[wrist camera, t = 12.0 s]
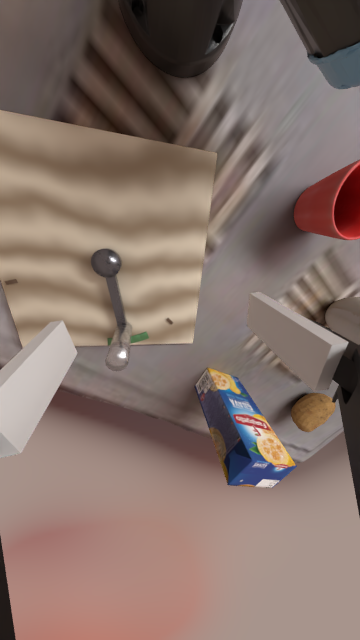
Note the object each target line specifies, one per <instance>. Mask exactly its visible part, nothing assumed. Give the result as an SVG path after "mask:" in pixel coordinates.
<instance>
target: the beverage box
mask: <svg viewBox="0 0 360 640" xmlns="http://www.w3.org/2000/svg"><path fill="white" fill-rule="evenodd" d="M195 389H196V392H197V395H198V398H199V400H200V403H201V406H202V409H203V412H204V415H205V418H206V421H207V424H208V427H209V430H210V433H211V436H212V439H213V442H214V445H215V448H216V451H217V454H218V457H219V459H220V463H221V465H222V468H223V471H224V474H225V477H226V480H227V483H228V485H234V486H249V487H265V488H273V487H274V486H275V485H276V484H277V483H278V482H280V481H281V480H282V479H283V478H284V477H285V476H286V475H288V474H289V473H290V472H291V471H292V470H293V469H294V468H295V467H296V465H295V463H294V462H293V460H292V459H291V457H290V456H289V454H288V453H287V451H286V450H285V448H284V447H283V445H282V444H281V442H280V441H279V439H278V438H277V436H276V435H275V433H274V432H273V430H272V429H271V427H270V426H269V424H268V423H267V421H266V420H265V418H264V417H263V415H262V413H261V412H260V410H259V409H258V407H257V406H256V404H255V403H254V401H253V400H252V398H251V397H250V395H249V394H248V392H247V391H246V389H245V388H244V386H243V385H242V383H241V382H240V380H239V379H238V378H236V377H233V376H231V375H228V374H225V373H222V372H219V371H216V370H213V369H210V368H207V369H206V371H205V372H204V373H203V375H202V376H201V378H200V379H199V381H198V382H197V383H196V385H195Z"/></svg>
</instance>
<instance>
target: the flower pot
mask: <svg viewBox="0 0 360 640" xmlns="http://www.w3.org/2000/svg"><path fill="white" fill-rule="evenodd" d="M294 221H295V223H296V225H297V227H298V228H299V229H301V230H303V231H307V232H312V233H316V234H320V235H324V236H329V237H333V238H338V239H343V240H355V239H359V238H360V160H358V161H356V162H354V163H352V164H350V165H348V166H346V167H344V168H342V169H341V170H339V171H337V172H335V173H333V174H331V175H330V176H328V177H326V178H324V179H322V180H321V181H319V182H317V183H316V184H314V185H312V186H310V187H309V188H307V189H306V190H305V191H304V192H303V193H302V194H301V196H300V197H299V199H298V201H297V203H296V205H295V209H294Z"/></svg>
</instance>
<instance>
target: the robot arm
mask: <svg viewBox="0 0 360 640" xmlns="http://www.w3.org/2000/svg"><path fill="white" fill-rule="evenodd" d="M242 1H243V0H118V2H119V5H120V8H121V11H122V14H123V17H124V20H125V22H126V24H127V27H128V29H129V31H130V33H131V35H132V36H133V38H134V40H135V42H136V43H137V45H138V46H139V48H140V49H141V51H142V52H143V53H144V54H145V56H146V57H147V58H148V59H149V60H150V61H151V62H152V63H153V64H154V65H156V66H157V67H158V68H160V69H161V70H163V71H164V72H166V73H168V74H171V75H174V76H178V77H191V76H195V75H198V74H200V73H202V72H204V71H205V70H207V69H208V68H209V67H210V66H212V65H213V64H214V62H215V61H216V60H217V59H218V58H219V56H220V55H221V53H222V52H223V50H224V48H225V46H226V44H227V42H228V40H229V38H230V35H231V33H232V31H233V28H234V26H235V23H236V21H237V18H238V15H239V12H240V9H241V5H242ZM280 2H281V3H282V5H283V7H284V9H285V11H286V13H287V14H288V16H289V18H290V20H291V22H292V24H293V25H294V27H295V29H296V31H297V33H298V35H299V37H300V38H301V40H302V42H303V44H304V46H305V48H306V50H307V54H308V59H309V61H310V62H311V63H313V64H316V65H317V66H318V67H319V69H320V70H321V72H322V73H323V75H324V77H325V78H326V80H327V81H328V83H329V84H330V85H331V86H332V87H334V88H337V89H348V88H351V87H357V86H360V0H280ZM247 326H248V327H249V328H250V329H251V330H252V331H253V332H254V333H255V334H256V335H257V336H258V337H259V338H260V339H261V340H262V341H263V342H264V343H265V344H266V345H267V346H268V347H269V348H270V349H271V350H272V351H273V352H274V353H275V354H276V355H277V356H278V357H279V358H280V359H281V360H282V361H283V362H284V363H285V364H286V365H287V366H288V367H289V368H290V369H291V370H292V371H293V372H294V373H295V374H296V375H297V376H298V377H299V378H300V379H301V380H302V381H303V382H304V383H305V384H306V385H308V386H309V387H310V388H311V389H312V390H313V391H314V392H316V391H321V390H326V389H329V386H330V384H331V382H332V380H334V381H335V382H336V383H338V384H339V386H338V388H337V390H336V392H335V395H334V397H333V399H332V402H333V403H335V402H336V400H337V399H339V405H340V411H341V416H342V422H343V427H344V433H345V438H346V444H347V449H348V455H349V460H350V466H351V472H352V477H353V483H354V488H355V494H356V499H357V505H358V510H359V515H360V345H358V344H356V343H354V342H352V341H351V340H349V339H347V338H345V337H343V336H342V335H340V334H338V333H336V332H334V331H332V330H331V329H329V328H327V327H325V326H323V325H322V324H320V323H318V322H316V321H313V320H310V319H307V318H305V317H303V316H302V315H300V314H298V313H296V312H294V311H293V310H291V309H289V308H287V307H286V306H284V305H282V304H280V303H279V302H277V301H275V300H273V299H272V298H270V297H268V296H266V295H264V294H263V293H261V292H255V293H250V298H249V308H248V318H247ZM76 355H77V351H76V348H75V346H74V344H73V342H72V340H71V337H70V335H69V333H68V331H67V328H66V326H65V324H64V322H63V320H61V321H54V322H50V323H49V324H48V325H47V326H46V327H45V328H44V329H43V330H42V331H41V332H40V333H39V334H38V335H36V336H35V337H34V338H33V339H32V340H31V341H30V342H29V343H28V344H27V345H26V346H25V347H24V348H23V349H22V350H21V351H20V352H19V353H18V354H17V355H16V356H15V357H14V358H12V359H11V360H10V361H9V362H8V363H7V364H6V365H5V366H4V367H3V368H2V369H1V370H0V458H2V457H7V456H12V455H16V454H20V453H21V452H22V451H23V449H24V447H25V445H26V444H27V442H28V440H29V438H30V437H31V435H32V433H33V431H34V430H35V428H36V426H37V424H38V422H39V421H40V419H41V417H42V415H43V414H44V412H45V410H46V408H47V406H48V405H49V403H50V401H51V399H52V397H53V396H54V394H55V392H56V391H57V389H58V387H59V385H60V384H61V382H62V380H63V378H64V376H65V375H66V373H67V371H68V369H69V368H70V366H71V364H72V362H73V361H74V359H75V357H76ZM0 640H16V639H15V633H14V625H13V619H12V613H11V605H10V598H9V592H8V584H7V578H6V572H5V564H4V557H3V550H2V544H1V537H0Z"/></svg>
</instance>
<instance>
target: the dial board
mask: <svg viewBox="0 0 360 640" xmlns="http://www.w3.org/2000/svg"><path fill="white" fill-rule="evenodd" d="M216 161H217V153H215V152H210V151H205V150H200V149H195V148H190V147H184V146H179V145H174V144H169V143H164V142H159V141H154V140H149V139H144V138H139V137H134V136H129V135H124V134H119V133H114V132H109V131H104V130H99V129H94V128H89V127H84V126H79V125H74V124H68V123H63V122H58V121H53V120H48V119H43V118H38V117H33V116H28V115H23V114H18V113H13V112H8V111H3V110H0V280H1V283H2V286H3V289H4V292H5V295H6V298H7V301H8V304H9V307H10V311H11V314H12V317H13V320H14V323H15V326H16V329H17V332H18V335H19V338H20V341H21V344H22V347H23V348H24V347H25V346H26V345H27V344H28V343H29V342H30V341H31V340H32V339H33V338H34V337H35V336H36V335H38V334H39V333H40V332H41V331H42V330H43V329H44V328H45V327H46V326H47V325H48V324H49V323H50V322H54V321H61V320H63V322H64V324H65V326H66V328H67V331H68V333H69V335H70V337H71V340H72V342H73V344H74V346H104V345H111V342H112V338H113V335H114V332H115V329H116V326H117V321H116V317H115V313H114V310H113V306H112V302H111V298H110V294H109V290H108V286H107V282H106V278H105V277H102V276H100V275H98V274H97V273H96V272H95V271H94V270H93V268H92V266H91V257H92V255H93V254H94V253H95V252H96V251H97V250H100V249H103V248H109V249H113V250H114V251H116V252H117V253H118V254H119V256H120V257H121V260H122V266H121V269H120V271H119V272H118V273H117V274H116V276H117V280H118V284H119V289H120V293H121V298H122V302H123V307H124V311H125V315H126V320H127V322H129V323H130V324H131V325H132V336H131V344H130V345H141V344H178V343H193V337H194V329H195V321H196V314H197V306H198V298H199V291H200V283H201V275H202V268H203V260H204V252H205V245H206V237H207V230H208V222H209V214H210V207H211V199H212V191H213V184H214V176H215V168H216Z"/></svg>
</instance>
